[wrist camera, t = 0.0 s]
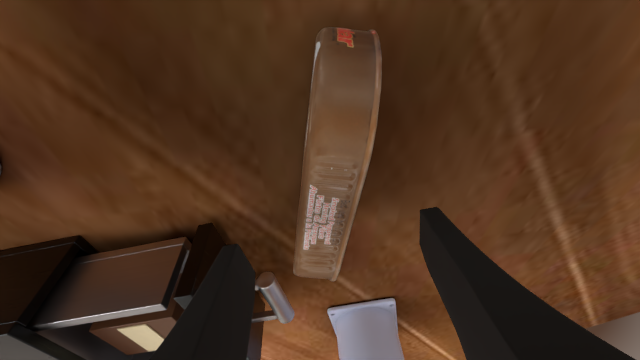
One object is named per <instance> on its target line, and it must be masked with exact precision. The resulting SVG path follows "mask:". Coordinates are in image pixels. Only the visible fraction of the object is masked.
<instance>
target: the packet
mask: <svg viewBox="0 0 640 360" xmlns="http://www.w3.org/2000/svg"><path fill="white" fill-rule="evenodd" d="M181 275H182V273H179V276H178V279H177V282H176V285H175V288H174V290H173V293H172V296H171V299H170V302H169V305H168V308H167V310H163V311H157V312H151V313H145V314H139V315H133V316H127V317H121V318H115V319H109V320H103V321H98V322H93V324H92V326H91V327H90V329H89V332H91V333H92V334H94V335H96V336H97V337H99V338H101V339H102V340H104V341H105V342H107V343H109V344H110V345H112V346H113V347H115V348H117V349H118V350H120V351H121V352H123V353H125V354H126V355H131V354H137V353H144V352H150V351H156V350H157V349H158V347H159V346H160V345H161V343H162V342H163V341H164V339H165V338H166V337H167V335H168V334H169V332H170V331H171V330H172V328H173V327H174V325H175V324H176V322H177V321H178V319H179V318H180V316H181V315H182V313H183V312H184V309H183V308H182V307H181V306H180V305H179V304H178V303H177V302H176V301H175V300H174V295H175V292H176V289H177V286H178V283H179V280H180V278H181Z"/></svg>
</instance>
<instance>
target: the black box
mask: <svg viewBox="0 0 640 360" xmlns="http://www.w3.org/2000/svg"><path fill="white" fill-rule="evenodd" d="M97 253H99V252H98V251H97V250H95V249H94V248H93V247H92V246H91V245H90V244H89V243H88V242H86V241H85V240H84V239H83V238H82V237H81V236H74V237H69V238H63V239H58V240H53V241H48V242H43V243H38V244H33V245H28V246H23V247H17V248H12V249H7V250H2V251H0V360H86V359H84V358H82V357H81V356H79V355H77V354H75V353H73V352H71V351H69V350H67V349H66V348H64V347H62V346H60V345H58V344H56V343H54V342H52V341H50V340H49V339H47V338H45V337H43V336H41V335H39V334H37V333H35V332H34V331H32V330H30V329H28V328H26V326H27V325H28V323H29V322H30V320H31V319H32V317H33V316H34V315H35V313H36V312H37V310H38V309H39V307H40V306H41V305H42V303H43V302H44V300H45V299H46V297H47V296H48V295H49V293H50V292H51V290H52V289H53V287H54V286H55V284H56V283H57V282H58V280H59V279H60V277H61V276H62V274H63V273H64V272H65V270H66V269H67V267H68V266H69V264H70V263H71V262H72V260H73V259H74V258H76V257H81V256H87V255H92V254H97Z"/></svg>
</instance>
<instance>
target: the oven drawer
mask: <svg viewBox="0 0 640 360" xmlns="http://www.w3.org/2000/svg"><path fill="white" fill-rule="evenodd" d="M223 246H227V245H226V243H225V242H224V240H223V239H222V237H221V236H220V234H219V233H218V231H217V229H216V228H215V226H214V225H213V223H208V224H203V225H199V226H198V228H197V231H196V234H195V237H194V240H193V243H192V244H191V243H190V242H189V240H188V239H187V238H186V237H182V238H176V239H171V240H166V241H161V242H155V243H150V244H145V245H139V246H134V247H129V248H124V249H118V250H113V251H108V252H102V253H97V254H92V255H87V256H81V257H76V258H74V259H73V260H72V262H71V263H70V264H69V266H68V267H67V269H66V270H65V272H64V273H63V274H62V276H61V277H60V279H59V280H58V282H57V283H56V284H55V286H54V287H53V289H52V290H51V292H50V293H49V295H48V296H47V297H46V299H45V300H44V302H43V303H42V305H41V306H40V307H39V309H38V310H37V312H36V313H35V315H34V316H33V317H32V319H31V320H30V322H29V323H28V325H27V326H26V328H28V329H30V330H32V331H34V332H35V333H37V334H39V335H41V336H43V337H45V338H47V339H49V340H50V341H52V342H54V343H56V344H58V345H60V346H62V347H64V348H66V349H67V350H69V351H71V352H73V353H75V354H77V355H79V356H81V357H82V358H84V359H86V360H149V359H150V358H151V356H152V355H153V354H154V352H155V351H150V352H144V353H137V354H131V355H126V354H125V353H123V352H121V351H120V350H118V349H117V348H115V347H113V346H112V345H110V344H109V343H107V342H105V341H104V340H102V339H101V338H99V337H97V336H96V335H94V334H92V333H91V332H89V329H90V327H91V326H92V324H93V322H98V321H103V320H109V319H115V318H121V317H127V316H133V315H139V314H145V313H151V312H157V311H163V310H167V308H168V305H169V302H170V299H171V296H172V293H173V290H174V288H175V285H176V282H177V279H178V276H179V273H182V275H181V278H180V280H179V283H178V286H177V289H176V292H175V295H174V300H175V301H176V302H177V303H178V304H179V305H180V306H181V307H182V308H183V309H184V310H185V309H186V307H187V306H188V304H189V303H190V301H191V300H192V298H193V296H194V295H195V293H196V291H197V290H198V288H199V286H200V285H201V283H202V281H203V280H204V278H205V276H206V275H207V273H208V271H209V270H210V268H211V266H212V264H213V263H214V261H215V259H216V257H217V256H218V254H219V252H220V251H221V249H222V247H223ZM259 289H260V291H261V293H262V294H263V296H264V297H265V299H266V300H267V302H268V304H269V305H270V307H271V308H272V310H271V311H265V303H264V302H263V300H262V299H261V297H260V296H259V294H258V293H257V291H256V290H259ZM277 318H278V319H279V321H280V322H281V323H289V322H290V321H292V319H293V318H294V310H293V308H292V307H291V305H290V303H289V301H288V299H287V297H286V295H285V294H284V292H283V290H282V288H281V286H280V284H279V283H278V281H277V279H276V277H275V275H274V274H273V273H272V272H264V273H262V274H261V275H260V276H259V277H258V278H257V280H255V301H254V308H253V316H252V323H251V330H250V337H249V344H248V351H247V359H246V360H260V358H261V346H262V335H263V323H264V321H267V320H274V319H277Z"/></svg>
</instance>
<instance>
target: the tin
mask: <svg viewBox="0 0 640 360" xmlns="http://www.w3.org/2000/svg"><path fill="white" fill-rule="evenodd" d="M381 78H382V57H381V47H380V41H379V36H378V34H377V32H376V31H375V30H372V29H370V30H368V31H360V30H352V29H345V28H336V27H326V28H323V29H322V30H320V32H319V33H318V34H317V37H316V42H315V52H314V61H313V71H312V81H311V90H310V99H309V107H308V116H307V125H306V134H305V144H304V155H303V167H302V180H301V190H300V199H299V208H298V217H297V228H296V240H295V254H294V265H293V273H294V274H295V275H296V276H300V277H307V278H319V279H329V280H330V281H335V280H336V279H337V277H338V275H339V272H340V268H341V265H342V261H343V257H344V254H345V250H346V246H347V243H348V239H349V236H350V232H351V228H352V224H353V221H354V217H355V214H356V210H357V206H358V203H359V200H360V196H361V192H362V188H363V185H364V181H365V178H366V175H367V171H368V167H369V163H370V159H371V155H372V150H373V145H374V139H375V133H376V128H377V120H378V112H379V104H380V93H381Z"/></svg>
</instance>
